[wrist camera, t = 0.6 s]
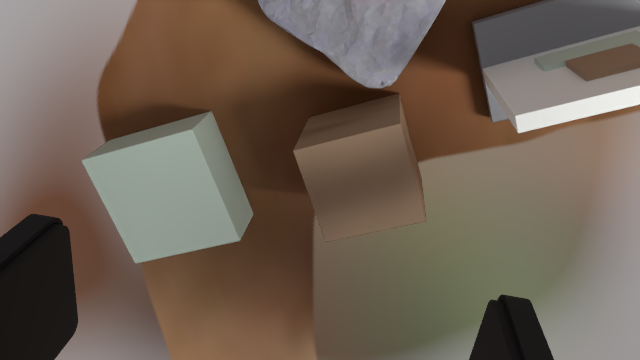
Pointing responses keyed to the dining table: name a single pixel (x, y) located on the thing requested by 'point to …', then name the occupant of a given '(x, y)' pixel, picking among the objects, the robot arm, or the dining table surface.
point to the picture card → (559, 60)
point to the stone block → (359, 32)
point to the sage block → (171, 188)
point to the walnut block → (361, 169)
